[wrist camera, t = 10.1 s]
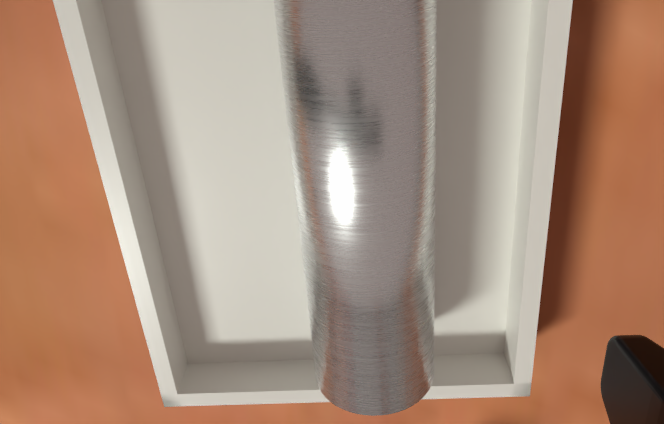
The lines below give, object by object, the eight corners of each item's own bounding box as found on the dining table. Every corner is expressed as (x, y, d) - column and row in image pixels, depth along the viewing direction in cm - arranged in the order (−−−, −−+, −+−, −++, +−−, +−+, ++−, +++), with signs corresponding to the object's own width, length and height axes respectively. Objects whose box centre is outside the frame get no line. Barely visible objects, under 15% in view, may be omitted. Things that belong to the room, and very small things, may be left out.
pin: (222, -178, 14) (316, -209, 11) (365, -179, 15) (478, -207, 12) (294, 363, 21) (361, 435, 18) (384, 318, 23) (459, 377, 20)
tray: (21, -287, 15) (-35, -317, 13) (574, -344, 14) (614, -387, 12) (181, 361, 24) (164, 406, 22) (513, 350, 23) (529, 395, 21)
